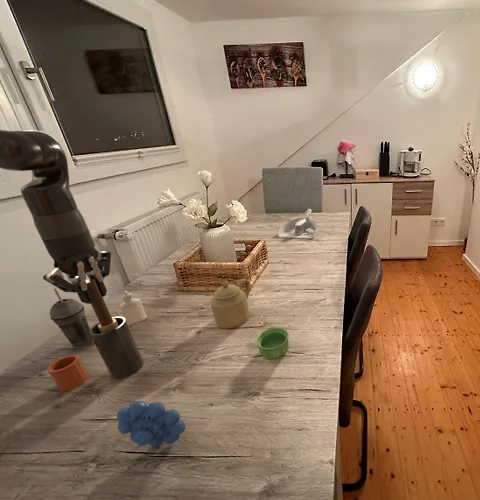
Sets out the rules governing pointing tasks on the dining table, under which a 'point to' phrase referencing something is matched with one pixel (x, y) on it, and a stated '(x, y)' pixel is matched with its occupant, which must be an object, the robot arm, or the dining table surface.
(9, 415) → the dining table surface
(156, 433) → the grapes
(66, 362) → the brush holder
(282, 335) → the ramekin
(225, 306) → the sugar bowl
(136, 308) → the eye dropper bottle
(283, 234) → the dustpan and brush
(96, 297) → the brown wooden rod
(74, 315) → the beverage cup
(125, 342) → the dark grey tumbler
